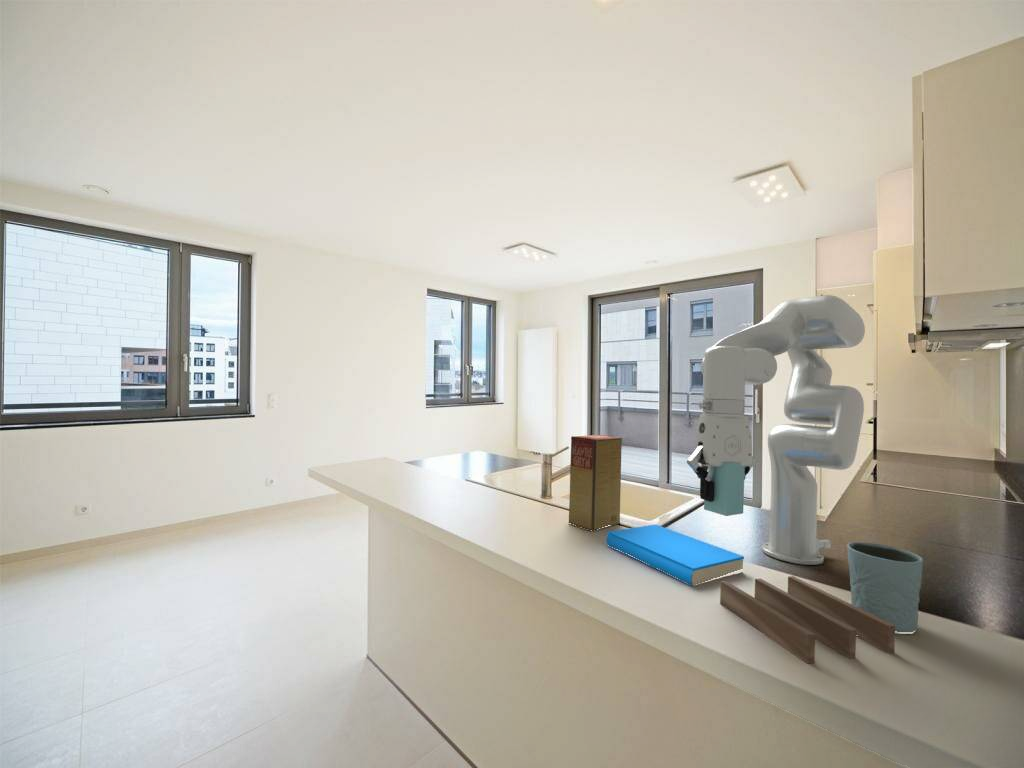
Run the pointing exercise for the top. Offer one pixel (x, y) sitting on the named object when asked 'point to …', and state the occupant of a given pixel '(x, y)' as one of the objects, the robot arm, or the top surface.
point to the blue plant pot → (886, 583)
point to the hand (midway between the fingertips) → (720, 498)
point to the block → (727, 490)
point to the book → (675, 553)
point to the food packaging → (595, 481)
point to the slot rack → (807, 618)
